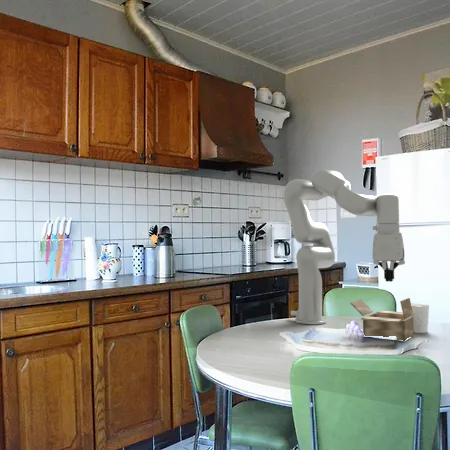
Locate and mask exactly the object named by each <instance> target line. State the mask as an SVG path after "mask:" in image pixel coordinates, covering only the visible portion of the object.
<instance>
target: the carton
mask: <svg viewBox="0 0 450 450" xmlns="http://www.w3.org/2000/svg"><path fill="white" fill-rule="evenodd" d="M413 315H414V313H413ZM360 320H362V334H363V333H364V335H365V336H383V337H389V336H396V337H397V340H403V341H405V340H406V339H407V338H409V337H412V338H413V337H414V335H415V333H413V316H411V317H409V318H407V319H404V316H403V312H402V311H401V312H400V311H391V310H378V311H376V312H372V313H369V314H366V315H364V316H362V317H361V319H360Z"/></svg>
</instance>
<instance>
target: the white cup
mask: <svg viewBox="0 0 450 450" xmlns="http://www.w3.org/2000/svg"><path fill="white" fill-rule="evenodd" d="M411 306H412V311H413V313H414V315H412V316H413V333H414V334H415V333H416V334H426V333H428V330H429V329H428V328H429V327H428V325H429V317H430V316H429V315H430V305H429V304H427V303H418V302H417V303H415V302H413V303H412V302H411Z"/></svg>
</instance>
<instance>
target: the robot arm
mask: <svg viewBox="0 0 450 450" xmlns="http://www.w3.org/2000/svg"><path fill="white" fill-rule="evenodd" d="M351 188H352V187H351V183H350V182H349V181H348V180H346V179H345V178H344V176H343V175H342V173H341V172H338V171H336V170H330V169H329V170H328V169H318V170H315V171H314V172H313V173H312V174H311V175H310V180H309V179H299V178H297V179H291V180H290V181H289V182H287V184H286V185H285V187H284V190H283V201H284V205H285V208H286V211H287V212H288V215H289V219H290V225H291V229H292V232H293V236H294V239H295V241H296V242H297V243H299V244H304V245H305V246H302V247H301V248H299V249H298V250H297V252H296V258H295V259H296V260H295V261H296V265H297V272H298V310H291V311H290V316H291V317H292V316H295V318H294V321H295V323H297V324H302V325H323V324H326V323H327V319H325V318H323V279H322V274H321V271H320V269H327V268H330V267H332V266H333V265H334V263H335V260H336V255H335V254H336V253H335V250H334V245H333V241H332V239H331V234H330V231H329V229H328V227H327V226H326V225H325V224H324V223H322V222H318V221H313V220H312V218H311V215H310V211H309V209H308V207H307V206H306V203H304V202H303V201H305V200H306V201H320V200H322V199H324V198H326V197H329V198H332V199H333V200H334V201H335V202H336V204H337V205H338V207H340V208H341V209H343V210H345V211H347V212H348V213H351V214H352V215H355V216H358V217H359V216H361V217H376V225H375V226H374V225H373V226H372V230H373V231H376V233H374V235H373V241H372V242H373V243H372V255H371V256H372V260H373V262H372V264H374V265H376V266H379V267H380V268H382V270H383V274H384V276H383V277H384V278H383V279H384V280H385V282H391V283H392V282H393V281H394V279H395V270H396V268H397V267H398V266H403V265H405V263H406V261H405V245H404V239H403V235H402V232H400V209H399V208H400V207H399V206H400V204H399V196H398V195H397V194H395V193H383V194H378V195H375V196H374V195H366V194H360V193H357V192H355V191H353V190H351ZM388 263H389V265H388Z"/></svg>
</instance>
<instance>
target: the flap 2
mask: <svg viewBox="0 0 450 450" xmlns="http://www.w3.org/2000/svg"><path fill="white" fill-rule="evenodd" d="M399 302H400V307H401V312H403V316H404V319H407V318H409V317H411V316H412V315H413V311H412V306H411V303H412V301H411V298H410V297H408V298H405V299H402V300H401V301H399Z"/></svg>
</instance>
